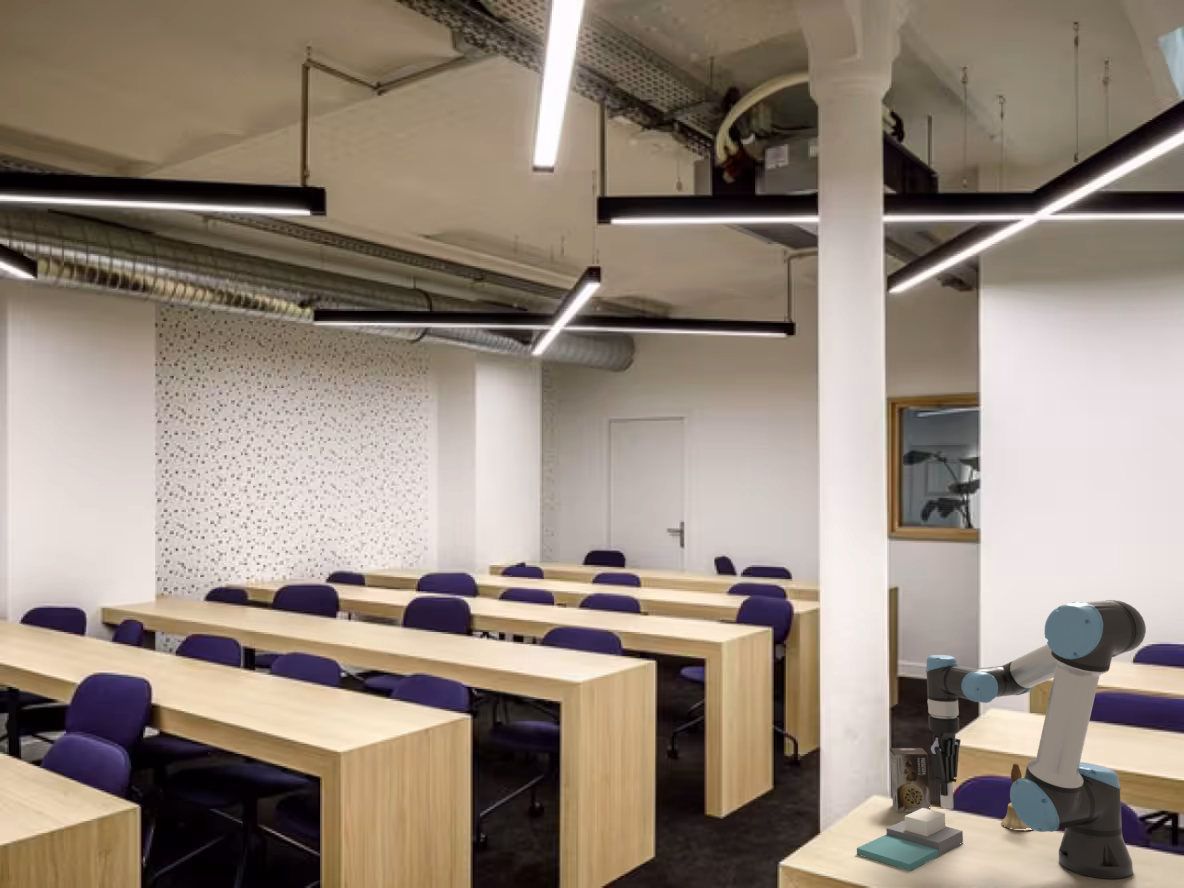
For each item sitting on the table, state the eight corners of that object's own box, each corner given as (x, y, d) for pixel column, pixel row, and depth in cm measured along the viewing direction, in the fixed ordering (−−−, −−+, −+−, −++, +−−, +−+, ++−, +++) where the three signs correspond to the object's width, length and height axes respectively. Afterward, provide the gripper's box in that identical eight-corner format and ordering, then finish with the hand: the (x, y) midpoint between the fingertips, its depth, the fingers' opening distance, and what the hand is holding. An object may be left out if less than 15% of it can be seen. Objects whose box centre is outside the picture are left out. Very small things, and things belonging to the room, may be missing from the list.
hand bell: (1004, 818, 245) (1001, 758, 246) (1038, 824, 240) (1035, 763, 241) (997, 827, 238) (994, 765, 240) (1032, 833, 234) (1029, 770, 235)
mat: (938, 855, 220) (938, 849, 220) (909, 870, 211) (909, 864, 211) (886, 840, 230) (886, 834, 230) (856, 854, 222) (856, 847, 222)
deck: (963, 843, 228) (962, 830, 228) (939, 855, 220) (938, 842, 220) (911, 828, 238) (911, 817, 239) (886, 840, 230) (886, 828, 231)
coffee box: (924, 805, 256) (922, 747, 257) (931, 813, 250) (928, 753, 251) (891, 805, 257) (889, 747, 258) (897, 813, 251) (894, 753, 252)
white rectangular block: (945, 827, 230) (944, 813, 231) (927, 836, 224) (926, 821, 225) (923, 821, 235) (922, 807, 235) (905, 830, 229) (904, 816, 229)
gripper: (942, 709, 246) (945, 798, 245) (917, 717, 238) (920, 809, 236) (969, 713, 241) (973, 805, 239) (944, 721, 232) (948, 816, 230)
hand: (947, 807), depth 237 cm, fingers closed
